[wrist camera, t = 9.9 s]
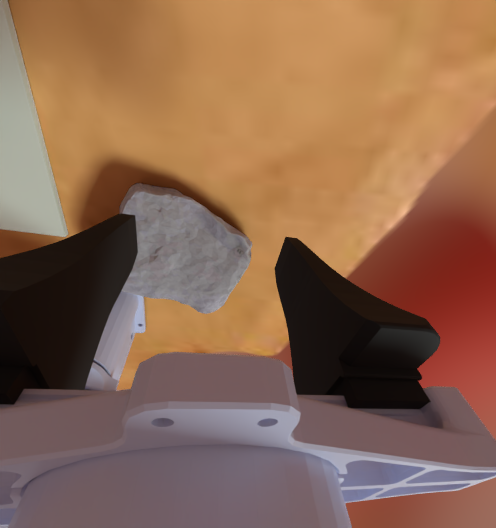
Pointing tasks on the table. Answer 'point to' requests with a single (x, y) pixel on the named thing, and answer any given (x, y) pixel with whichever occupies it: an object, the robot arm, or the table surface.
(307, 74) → the table surface
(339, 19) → the table surface
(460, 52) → the table surface
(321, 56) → the table surface
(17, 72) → the sage mat
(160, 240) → the stone block
